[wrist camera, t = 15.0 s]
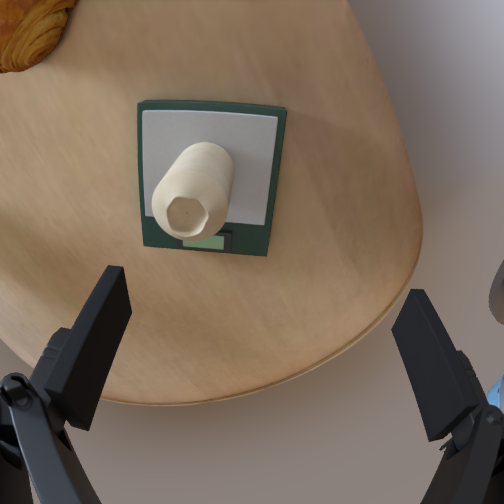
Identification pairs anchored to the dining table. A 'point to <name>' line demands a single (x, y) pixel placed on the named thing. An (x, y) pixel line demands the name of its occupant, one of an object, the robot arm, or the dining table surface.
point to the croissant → (30, 31)
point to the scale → (243, 157)
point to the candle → (195, 193)
